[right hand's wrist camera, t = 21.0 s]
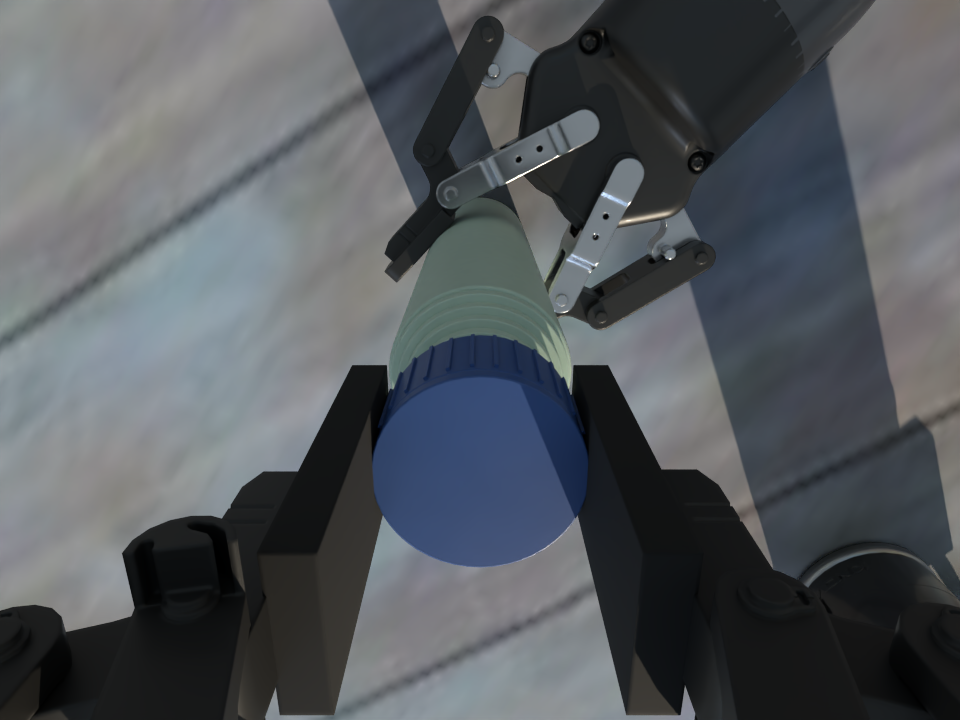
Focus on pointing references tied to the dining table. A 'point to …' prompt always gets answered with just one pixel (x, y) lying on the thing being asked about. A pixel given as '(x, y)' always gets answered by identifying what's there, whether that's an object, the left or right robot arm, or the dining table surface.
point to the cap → (480, 453)
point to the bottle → (480, 290)
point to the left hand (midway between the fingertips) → (439, 312)
